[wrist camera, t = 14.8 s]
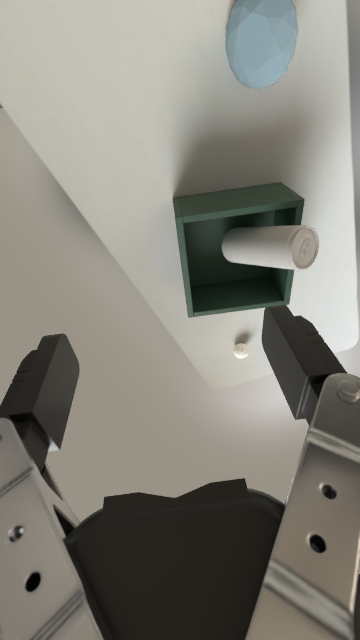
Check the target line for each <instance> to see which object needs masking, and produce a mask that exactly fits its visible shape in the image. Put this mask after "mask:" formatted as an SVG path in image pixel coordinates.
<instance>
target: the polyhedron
mask: <svg viewBox="0 0 360 640" xmlns="http://www.w3.org/2000/svg"><path fill="white" fill-rule="evenodd" d="M233 352H234V354H235V356H236V357H238V358H245V357H246V356H247V355H248V353H249V349H248V347H247V346H246V345H245V344H242V343H239V344H237V345H236V346H235V347H234V351H233Z"/></svg>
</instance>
